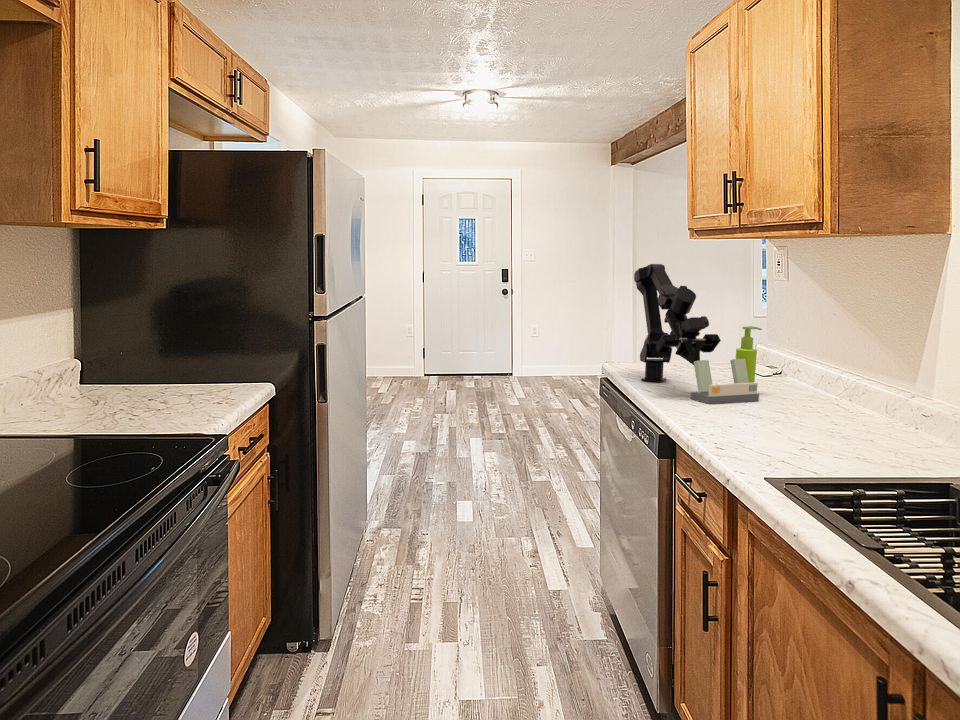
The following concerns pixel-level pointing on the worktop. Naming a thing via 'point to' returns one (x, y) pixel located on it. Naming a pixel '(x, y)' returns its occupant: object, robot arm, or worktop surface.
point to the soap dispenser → (748, 353)
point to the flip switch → (703, 375)
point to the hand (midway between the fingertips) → (698, 366)
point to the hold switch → (739, 371)
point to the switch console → (728, 393)
